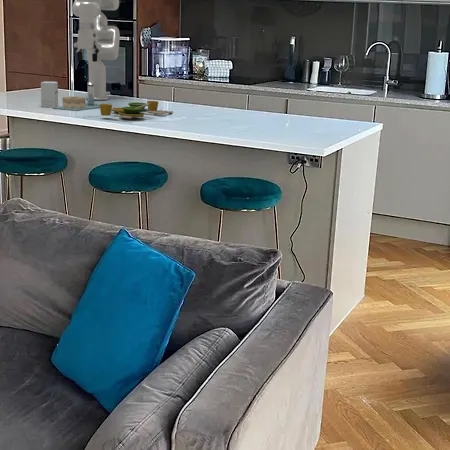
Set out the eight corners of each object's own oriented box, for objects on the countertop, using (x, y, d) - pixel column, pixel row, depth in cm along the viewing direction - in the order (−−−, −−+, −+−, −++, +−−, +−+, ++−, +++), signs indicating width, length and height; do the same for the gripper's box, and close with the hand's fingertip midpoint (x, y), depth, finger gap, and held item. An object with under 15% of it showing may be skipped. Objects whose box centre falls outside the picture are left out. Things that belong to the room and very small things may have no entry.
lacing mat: (88, 104, 398) (88, 103, 398) (111, 106, 392) (111, 105, 392) (52, 108, 372) (52, 107, 372) (76, 110, 366) (76, 109, 366)
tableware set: (129, 119, 345) (129, 105, 343) (83, 114, 358) (83, 101, 356) (176, 112, 380) (177, 100, 378) (133, 108, 393) (133, 96, 391)
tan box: (72, 105, 383) (72, 96, 382) (89, 107, 378) (89, 97, 377) (58, 107, 373) (58, 97, 372) (75, 109, 369) (75, 99, 367)
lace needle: (90, 104, 390) (89, 82, 387) (95, 105, 389) (95, 82, 386) (86, 105, 387) (86, 82, 384) (91, 105, 386) (91, 82, 383)
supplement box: (55, 107, 378) (54, 82, 375) (40, 107, 378) (40, 82, 375) (58, 106, 385) (58, 81, 382) (44, 105, 385) (43, 81, 382)
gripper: (104, 27, 376) (105, 61, 381) (78, 26, 384) (79, 60, 389) (95, 27, 370) (96, 62, 374) (69, 26, 378) (69, 60, 382)
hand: (87, 61), depth 381 cm, fingers open, 9 cm apart
